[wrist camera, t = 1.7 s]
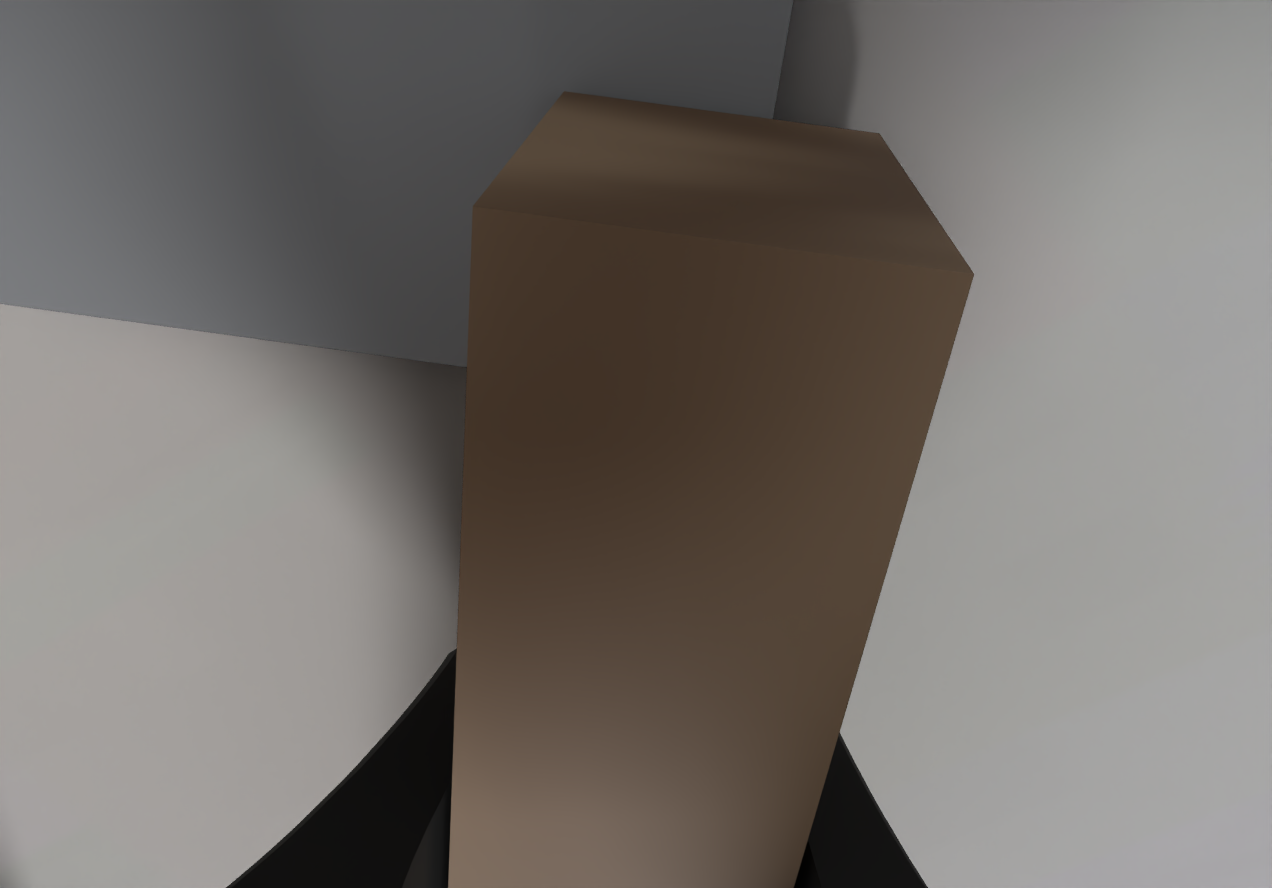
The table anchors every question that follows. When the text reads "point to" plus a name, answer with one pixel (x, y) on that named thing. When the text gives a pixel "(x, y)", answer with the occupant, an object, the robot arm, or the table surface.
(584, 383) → the bar
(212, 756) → the table surface
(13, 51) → the mat
